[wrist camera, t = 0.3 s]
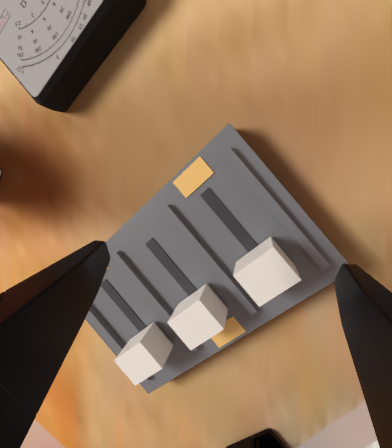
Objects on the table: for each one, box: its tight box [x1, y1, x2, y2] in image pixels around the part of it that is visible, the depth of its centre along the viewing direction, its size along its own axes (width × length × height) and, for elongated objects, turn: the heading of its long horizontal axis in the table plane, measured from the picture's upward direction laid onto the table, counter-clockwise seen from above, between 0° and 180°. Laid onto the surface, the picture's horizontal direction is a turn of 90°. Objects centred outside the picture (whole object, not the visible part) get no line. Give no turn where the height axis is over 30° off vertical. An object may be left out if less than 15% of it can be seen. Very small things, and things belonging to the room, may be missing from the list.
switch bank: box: [85, 123, 349, 394], centre depth 23 cm, size 15×24×3 cm, turn 132°
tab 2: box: [167, 283, 228, 350], centre depth 21 cm, size 3×4×3 cm
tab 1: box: [114, 322, 173, 386], centre depth 23 cm, size 3×4×3 cm
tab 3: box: [233, 236, 301, 307], centre depth 19 cm, size 3×4×3 cm
